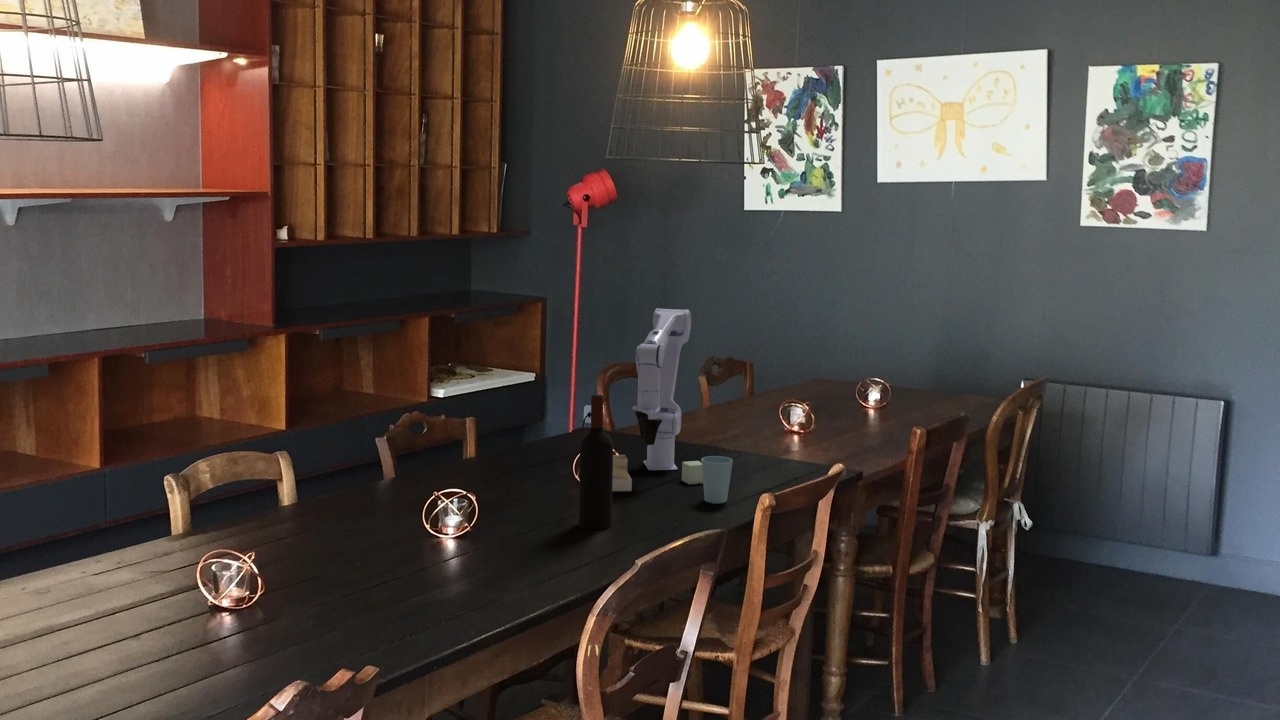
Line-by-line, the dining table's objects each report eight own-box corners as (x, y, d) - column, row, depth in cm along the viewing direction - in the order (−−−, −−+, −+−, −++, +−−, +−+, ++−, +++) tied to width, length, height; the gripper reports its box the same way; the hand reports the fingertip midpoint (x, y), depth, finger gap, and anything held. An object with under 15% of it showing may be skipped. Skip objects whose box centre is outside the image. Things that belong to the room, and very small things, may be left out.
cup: (737, 502, 303) (739, 460, 301) (713, 506, 299) (714, 464, 297) (718, 495, 309) (719, 454, 307) (694, 499, 305) (695, 458, 303)
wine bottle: (572, 526, 279) (574, 396, 274) (589, 518, 286) (591, 391, 281) (601, 531, 275) (603, 399, 271) (617, 523, 282) (620, 394, 278)
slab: (600, 484, 317) (601, 473, 317) (627, 484, 318) (628, 472, 318) (604, 491, 310) (604, 479, 310) (631, 490, 311) (631, 479, 311)
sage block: (681, 480, 323) (682, 461, 322) (697, 479, 325) (697, 460, 324) (689, 484, 319) (689, 465, 318) (704, 483, 321) (705, 464, 320)
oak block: (607, 474, 316) (607, 455, 315) (624, 473, 316) (625, 454, 315) (609, 478, 311) (609, 459, 310) (627, 478, 312) (627, 458, 311)
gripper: (629, 385, 325) (628, 435, 327) (637, 395, 311) (636, 447, 313) (656, 385, 326) (654, 435, 328) (665, 394, 312) (663, 447, 314)
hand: (647, 441), depth 321 cm, fingers open, 7 cm apart
